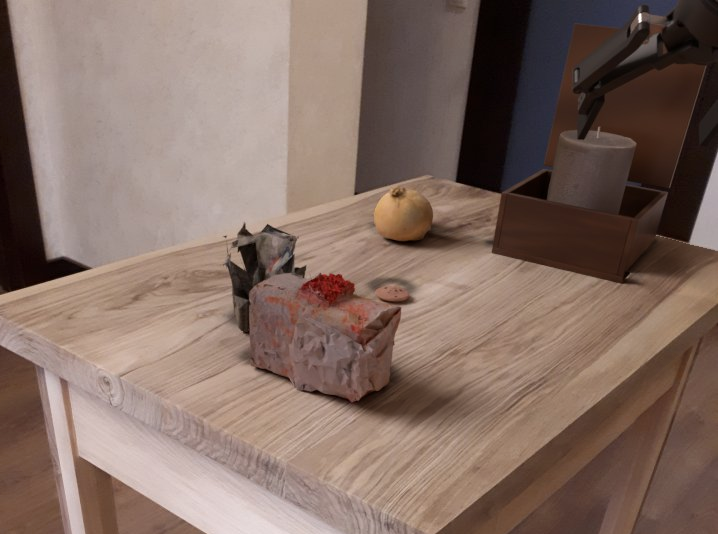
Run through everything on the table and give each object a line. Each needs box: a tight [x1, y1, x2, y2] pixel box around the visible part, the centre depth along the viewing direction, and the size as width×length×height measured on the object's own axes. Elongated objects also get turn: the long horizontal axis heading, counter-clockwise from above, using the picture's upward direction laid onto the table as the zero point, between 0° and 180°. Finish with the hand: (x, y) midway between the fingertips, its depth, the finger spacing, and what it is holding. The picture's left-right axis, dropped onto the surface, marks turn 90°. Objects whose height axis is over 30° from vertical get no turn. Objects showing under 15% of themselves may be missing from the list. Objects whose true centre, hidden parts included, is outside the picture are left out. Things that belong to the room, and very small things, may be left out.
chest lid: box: [543, 22, 707, 189], centre depth 106 cm, size 18×18×1 cm
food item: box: [248, 272, 402, 403], centre depth 71 cm, size 14×8×10 cm, turn 58°
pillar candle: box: [547, 126, 637, 215], centre depth 104 cm, size 10×10×15 cm
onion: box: [373, 185, 434, 242], centre depth 107 cm, size 8×8×7 cm
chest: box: [491, 168, 669, 284], centre depth 107 cm, size 17×18×8 cm
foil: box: [222, 221, 313, 334], centre depth 85 cm, size 12×11×15 cm
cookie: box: [374, 285, 411, 302], centre depth 91 cm, size 4×4×1 cm
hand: (641, 132), depth 88 cm, fingers open, 13 cm apart
